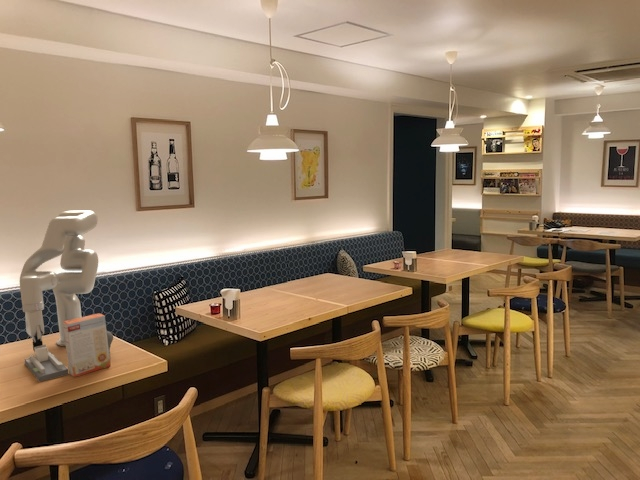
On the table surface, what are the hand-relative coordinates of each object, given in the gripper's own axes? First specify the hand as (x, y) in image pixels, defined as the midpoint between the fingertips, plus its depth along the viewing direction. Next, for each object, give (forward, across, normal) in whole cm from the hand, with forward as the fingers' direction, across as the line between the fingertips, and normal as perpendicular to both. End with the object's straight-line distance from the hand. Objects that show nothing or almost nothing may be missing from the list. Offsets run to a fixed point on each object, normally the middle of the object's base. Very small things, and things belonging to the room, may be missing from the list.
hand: (38, 350), depth 212 cm
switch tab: (+3, +4, 0) cm, 5 cm away
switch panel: (+5, +9, 0) cm, 11 cm away
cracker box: (+5, +23, +13) cm, 27 cm away
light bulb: (+5, +10, +23) cm, 26 cm away
